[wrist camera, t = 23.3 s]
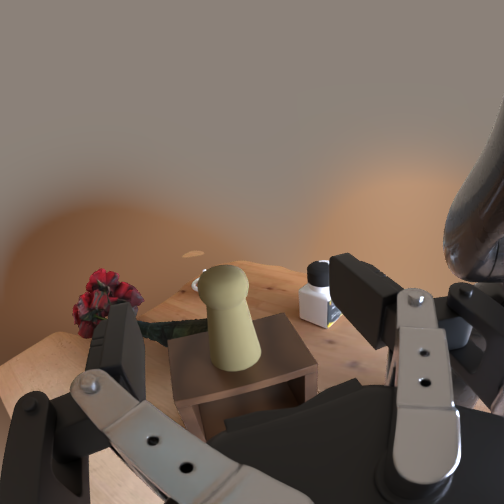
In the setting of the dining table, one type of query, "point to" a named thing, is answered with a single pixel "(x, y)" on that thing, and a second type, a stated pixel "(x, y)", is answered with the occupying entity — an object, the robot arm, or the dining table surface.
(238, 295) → the cork
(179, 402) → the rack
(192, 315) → the dining table surface
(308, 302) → the medicine bottle
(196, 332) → the carnation
